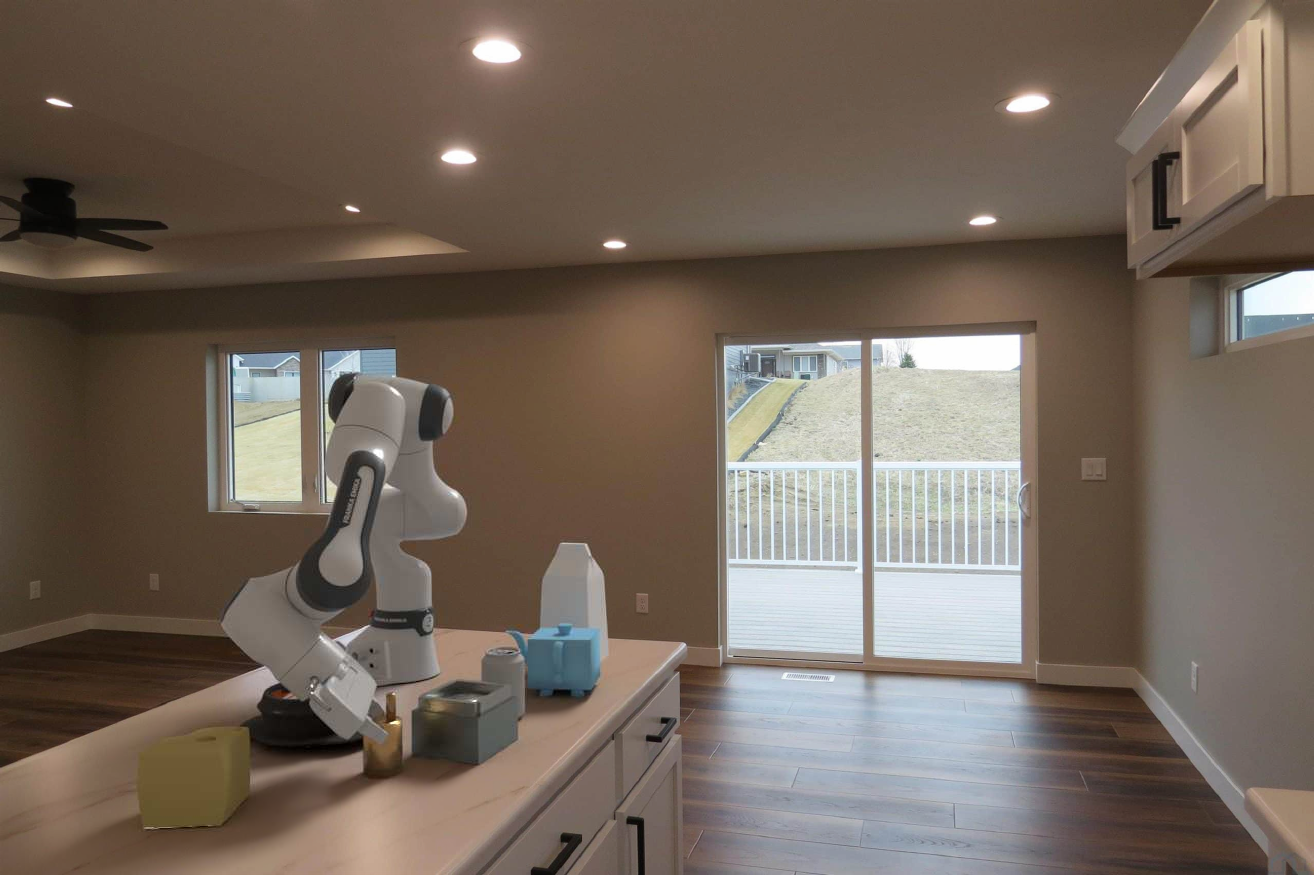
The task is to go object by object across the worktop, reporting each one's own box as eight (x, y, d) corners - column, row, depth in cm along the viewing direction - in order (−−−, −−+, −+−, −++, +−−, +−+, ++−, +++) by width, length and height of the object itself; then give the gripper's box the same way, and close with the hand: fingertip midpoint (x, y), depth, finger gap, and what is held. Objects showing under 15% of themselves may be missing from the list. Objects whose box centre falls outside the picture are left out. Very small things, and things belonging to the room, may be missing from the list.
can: (515, 725, 151) (515, 655, 151) (475, 723, 152) (474, 653, 152) (530, 712, 158) (530, 645, 158) (491, 709, 160) (491, 643, 160)
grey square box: (411, 755, 137) (411, 697, 137) (455, 731, 148) (454, 677, 148) (478, 764, 133) (478, 705, 133) (518, 739, 144) (517, 684, 144)
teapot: (602, 679, 179) (601, 616, 179) (589, 702, 163) (588, 633, 163) (515, 678, 181) (515, 615, 181) (494, 700, 165) (493, 632, 165)
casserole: (208, 748, 141) (208, 696, 141) (290, 713, 159) (290, 667, 159) (339, 765, 133) (339, 709, 133) (410, 726, 151) (409, 677, 151)
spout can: (361, 780, 127) (360, 701, 127) (365, 766, 132) (364, 690, 132) (401, 777, 128) (400, 698, 128) (403, 763, 134) (403, 687, 134)
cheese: (174, 799, 121) (173, 726, 121) (255, 796, 122) (254, 724, 122) (136, 833, 111) (135, 754, 111) (225, 829, 112) (224, 750, 112)
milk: (538, 666, 190) (537, 546, 190) (559, 653, 201) (558, 539, 201) (590, 670, 186) (589, 547, 186) (609, 657, 197) (608, 541, 197)
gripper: (321, 672, 119) (397, 738, 121) (341, 638, 139) (406, 696, 141) (286, 707, 118) (364, 774, 120) (311, 668, 138) (377, 726, 140)
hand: (387, 731), depth 130 cm, fingers closed on spout can, 6 cm apart
